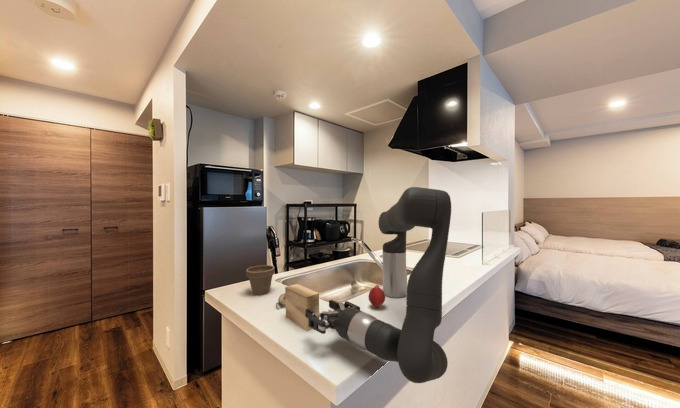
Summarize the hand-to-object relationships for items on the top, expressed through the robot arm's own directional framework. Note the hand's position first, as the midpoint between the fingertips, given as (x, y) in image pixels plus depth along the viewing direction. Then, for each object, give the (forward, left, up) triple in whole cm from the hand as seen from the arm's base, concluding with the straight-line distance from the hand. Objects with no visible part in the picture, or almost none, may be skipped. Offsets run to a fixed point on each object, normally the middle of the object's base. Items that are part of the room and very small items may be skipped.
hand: (318, 307), depth 73 cm
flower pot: (-2, -42, -7) cm, 42 cm away
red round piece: (-25, +1, -7) cm, 26 cm away
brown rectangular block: (0, -9, -7) cm, 11 cm away
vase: (-2, -23, -7) cm, 24 cm away
